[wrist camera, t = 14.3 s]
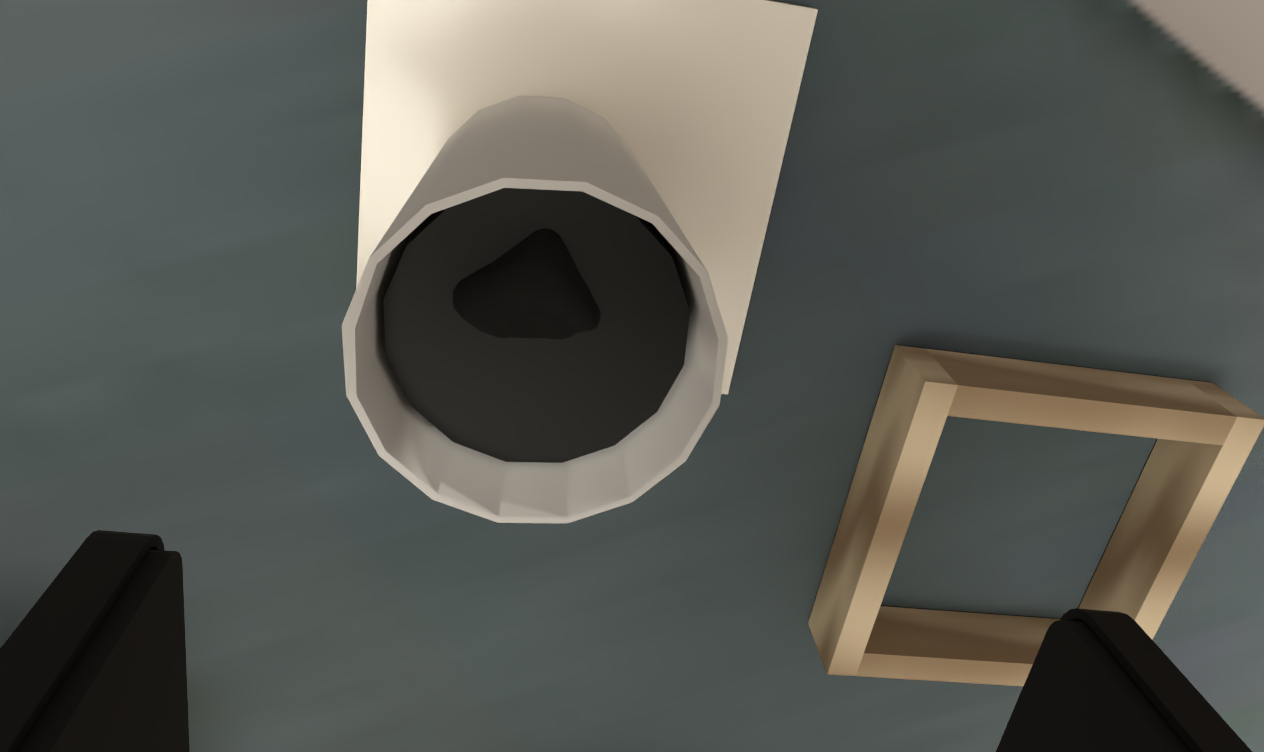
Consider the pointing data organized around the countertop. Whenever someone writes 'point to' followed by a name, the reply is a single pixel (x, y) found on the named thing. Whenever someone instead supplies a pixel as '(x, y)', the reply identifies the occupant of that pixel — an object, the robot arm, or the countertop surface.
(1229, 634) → the countertop surface
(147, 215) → the countertop surface
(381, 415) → the drinking glass
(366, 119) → the coaster
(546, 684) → the countertop surface
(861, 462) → the wooden frame
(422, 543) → the countertop surface
